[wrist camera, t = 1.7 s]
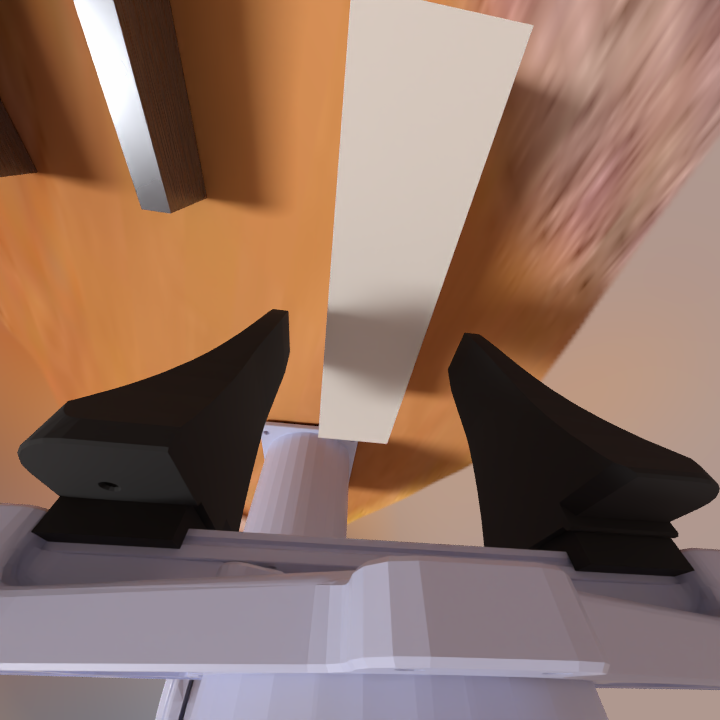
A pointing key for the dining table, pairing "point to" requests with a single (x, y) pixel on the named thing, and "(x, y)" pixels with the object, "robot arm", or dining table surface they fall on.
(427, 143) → the rail
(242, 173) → the dining table surface
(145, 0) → the u-shaped bracket
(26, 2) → the dining table surface
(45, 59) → the dining table surface
